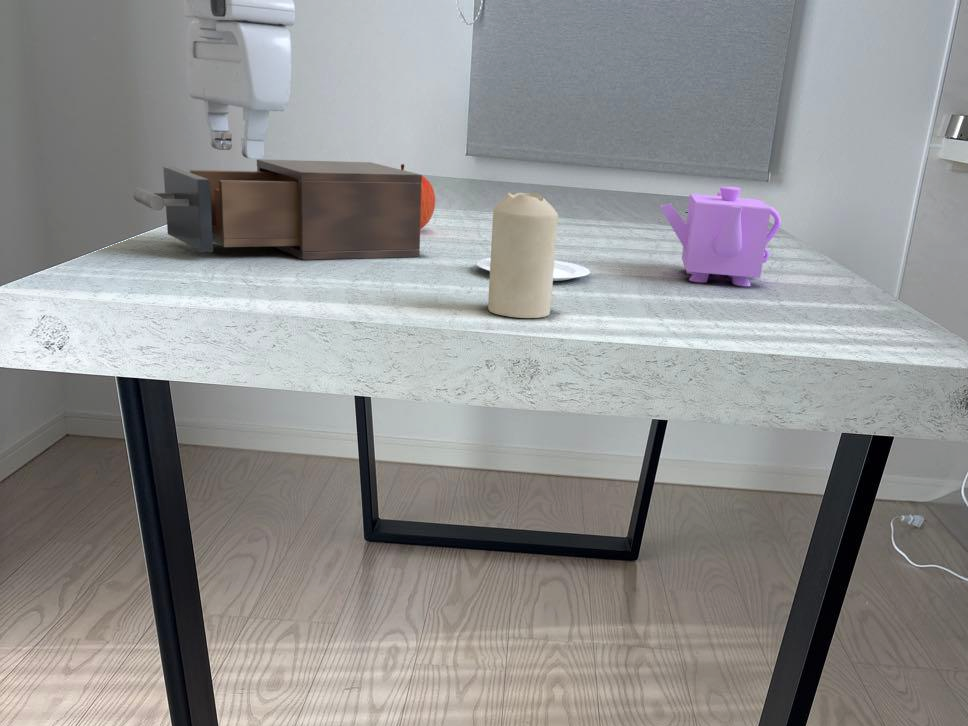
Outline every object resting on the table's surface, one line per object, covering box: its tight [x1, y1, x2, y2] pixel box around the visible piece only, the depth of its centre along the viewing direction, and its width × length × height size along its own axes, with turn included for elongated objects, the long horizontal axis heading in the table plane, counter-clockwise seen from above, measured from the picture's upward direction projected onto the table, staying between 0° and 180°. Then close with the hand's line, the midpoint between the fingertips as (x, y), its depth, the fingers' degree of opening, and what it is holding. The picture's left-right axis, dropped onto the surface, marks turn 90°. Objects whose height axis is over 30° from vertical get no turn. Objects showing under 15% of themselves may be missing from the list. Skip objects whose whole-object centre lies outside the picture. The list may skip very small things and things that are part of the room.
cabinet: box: [256, 158, 423, 261], centre depth 115 cm, size 14×13×9 cm
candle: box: [487, 192, 559, 319], centre depth 91 cm, size 6×6×10 cm
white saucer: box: [475, 257, 591, 282], centre depth 110 cm, size 12×12×4 cm
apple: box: [400, 163, 436, 230], centre depth 132 cm, size 8×8×8 cm
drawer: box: [132, 166, 300, 253], centre depth 109 cm, size 16×11×7 cm
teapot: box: [660, 185, 782, 287], centre depth 115 cm, size 18×13×10 cm
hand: (236, 153), depth 107 cm, fingers open, 8 cm apart
